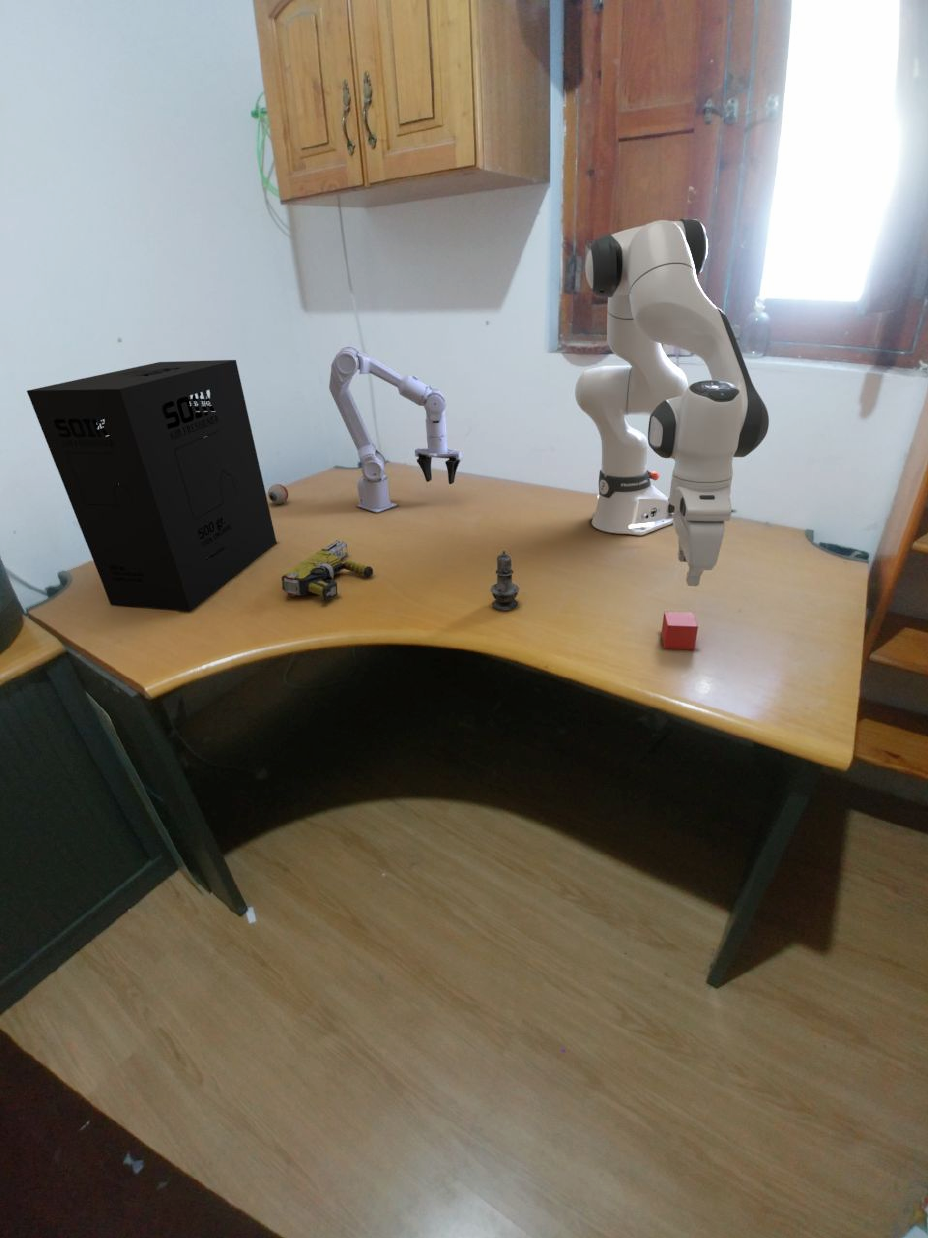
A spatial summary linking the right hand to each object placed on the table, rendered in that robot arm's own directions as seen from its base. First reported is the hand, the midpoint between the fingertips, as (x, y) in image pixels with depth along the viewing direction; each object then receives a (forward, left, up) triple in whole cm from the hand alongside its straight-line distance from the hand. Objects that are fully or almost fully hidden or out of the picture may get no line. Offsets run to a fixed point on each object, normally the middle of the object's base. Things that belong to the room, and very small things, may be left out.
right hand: (687, 571), depth 102 cm
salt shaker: (+20, -28, -14) cm, 37 cm away
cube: (0, 0, -14) cm, 14 cm away
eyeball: (+50, -121, -14) cm, 132 cm away
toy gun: (+48, -58, -14) cm, 76 cm away
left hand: (+7, -94, -8) cm, 95 cm away
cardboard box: (+76, -80, -14) cm, 111 cm away
